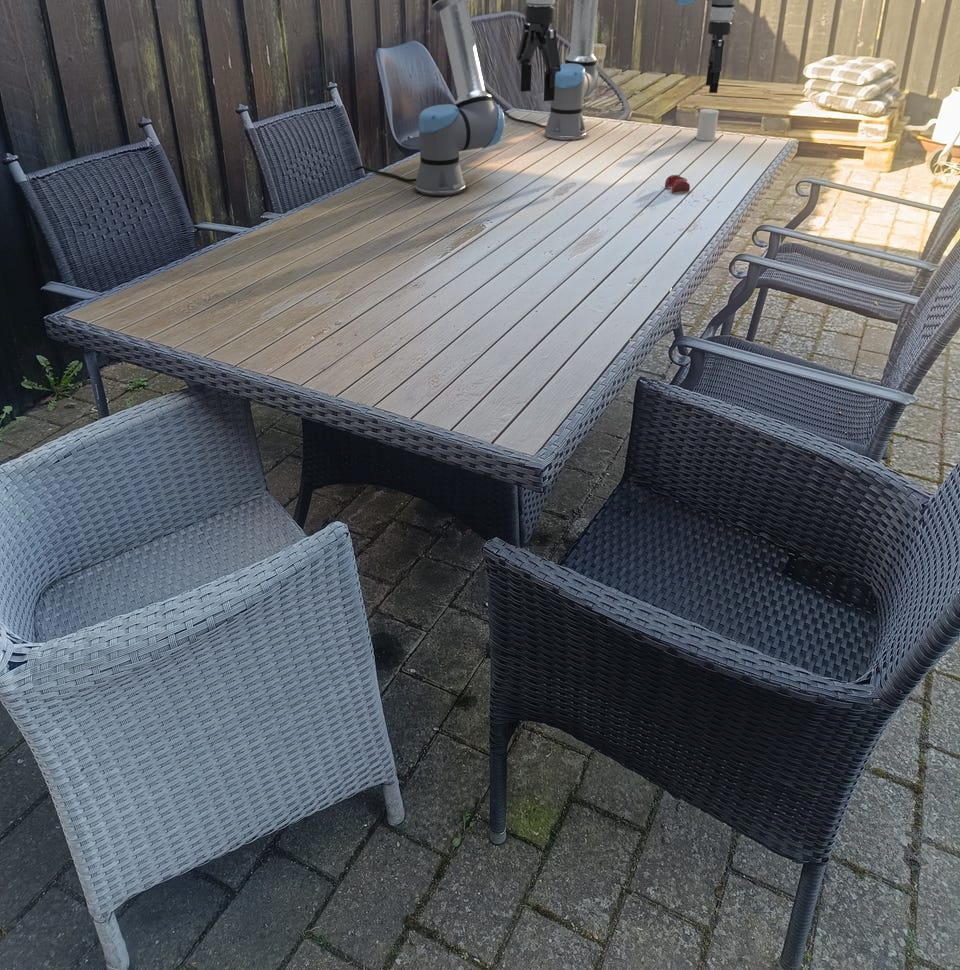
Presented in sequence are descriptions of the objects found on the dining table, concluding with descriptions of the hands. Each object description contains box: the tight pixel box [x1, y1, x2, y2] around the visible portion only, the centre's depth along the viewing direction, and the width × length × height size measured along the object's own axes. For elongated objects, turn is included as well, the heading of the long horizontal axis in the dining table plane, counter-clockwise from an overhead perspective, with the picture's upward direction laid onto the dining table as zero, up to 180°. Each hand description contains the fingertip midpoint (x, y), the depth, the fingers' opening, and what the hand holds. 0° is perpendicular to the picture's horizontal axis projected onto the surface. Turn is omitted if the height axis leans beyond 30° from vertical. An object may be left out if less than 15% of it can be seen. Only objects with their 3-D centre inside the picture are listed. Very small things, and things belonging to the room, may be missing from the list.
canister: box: [695, 108, 720, 142], centre depth 307 cm, size 7×7×10 cm
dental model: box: [664, 174, 691, 193], centre depth 257 cm, size 6×4×8 cm
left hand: (537, 95), depth 226 cm, fingers open, 13 cm apart
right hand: (711, 89), depth 298 cm, fingers open, 13 cm apart
